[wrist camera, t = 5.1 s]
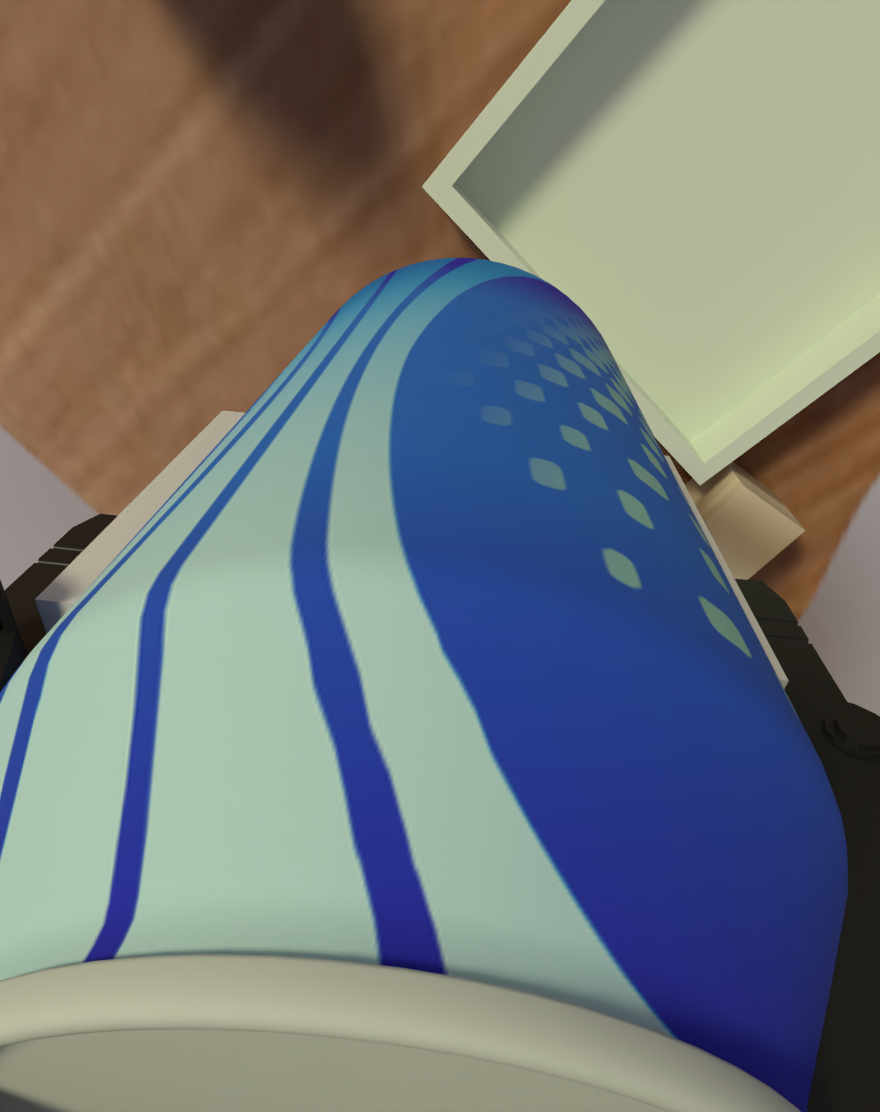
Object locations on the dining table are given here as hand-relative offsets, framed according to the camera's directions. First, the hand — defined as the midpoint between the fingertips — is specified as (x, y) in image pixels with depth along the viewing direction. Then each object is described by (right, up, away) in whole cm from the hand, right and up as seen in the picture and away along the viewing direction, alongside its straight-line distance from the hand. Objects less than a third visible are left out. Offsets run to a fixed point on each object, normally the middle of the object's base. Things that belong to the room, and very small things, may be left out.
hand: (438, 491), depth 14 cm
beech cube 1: (+15, +2, +20) cm, 25 cm away
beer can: (+1, +3, +4) cm, 5 cm away
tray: (+12, +14, +12) cm, 22 cm away
